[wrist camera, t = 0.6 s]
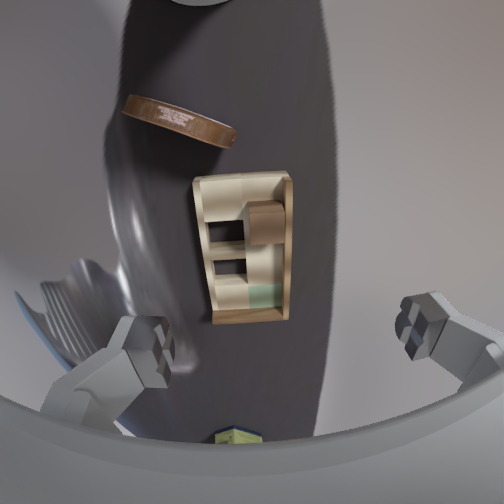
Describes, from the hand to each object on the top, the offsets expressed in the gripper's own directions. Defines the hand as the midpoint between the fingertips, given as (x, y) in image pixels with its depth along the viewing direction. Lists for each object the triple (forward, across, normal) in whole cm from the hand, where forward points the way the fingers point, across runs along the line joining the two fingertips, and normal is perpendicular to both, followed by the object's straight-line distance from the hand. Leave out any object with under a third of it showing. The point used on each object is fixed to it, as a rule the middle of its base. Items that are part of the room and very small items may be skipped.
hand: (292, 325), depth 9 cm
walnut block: (+30, -2, +6) cm, 31 cm away
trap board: (+34, +1, +12) cm, 36 cm away
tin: (+32, +9, -8) cm, 34 cm away
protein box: (+42, +9, +94) cm, 103 cm away
